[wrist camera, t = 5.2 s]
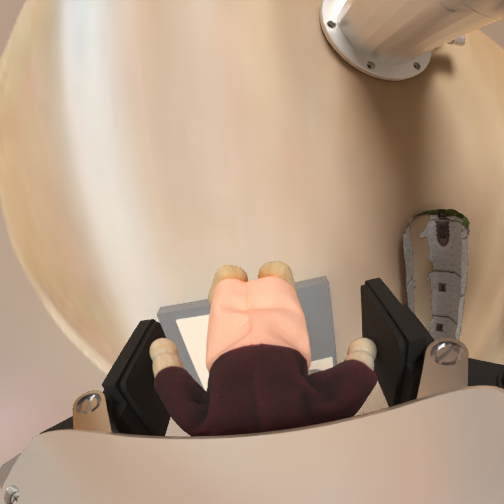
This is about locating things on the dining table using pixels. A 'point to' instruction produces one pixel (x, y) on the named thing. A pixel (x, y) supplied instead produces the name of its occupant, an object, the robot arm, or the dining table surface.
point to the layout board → (197, 317)
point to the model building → (442, 269)
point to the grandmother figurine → (260, 363)
